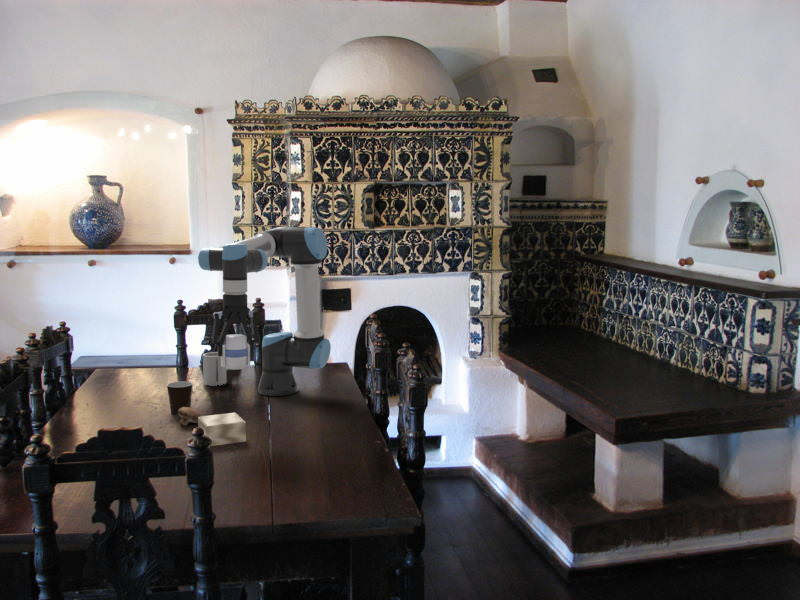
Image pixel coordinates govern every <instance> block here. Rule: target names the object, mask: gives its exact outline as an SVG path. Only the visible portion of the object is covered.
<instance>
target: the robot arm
mask: <svg viewBox="0 0 800 600" xmlns="http://www.w3.org/2000/svg"><path fill="white" fill-rule="evenodd" d="M327 253H328V241H327V237H326V235H325V233H324V232H323V230H322V229H321V228H319V227H312V226H279V227H274V228H270V229H266V230H264V231H263V230H262V231H260V232H258V233H256V234H255V235H254V236H253V237H252V236H251V237H250V238H246V239H243V240H239V241H236V242H232V243H225V244H223V245H222V246H219V247H204V248H201V250H200V251H199V252H198V257H197V261H198V266H199V267H200V269H202V270H203V271H210V272H222V292H223V294H222V309H221V311H217V312H215V311H214V312H213V313H212V316H213V317H212V318H213V326H212V334H211V341H210V342H211V343H212V344H213V345H215V346H217V352H218V356H221V366H222V367H225V346H224V340H225V338H226V335H228V332H229V330H230V327H231V325H232V324H237V323H238V324H240V326H241V329H242V331H243V335H246V336H247V366H251V355H253V354H254V344H256V343H259V342H260V340H259V339H260V338H259V330H258V323H257V317H258V312H257V311H255V310H249V308H248V295H247V292H248V274H249V273H258V272H262V271H264V270H265V269H266V268H267V266H268V263H269V262H268V258H271V257H272V258H287V259H290V264H291V266H292V267H294V277H295V300H296V303H295V305H296V325H297V326H296V327H297V328H296V329H297V330H296V331H295V332H294V333H293V332H292V331H283V332H282V331H281V332H274V333H269V334H266V335H264V336H263V338H262V343H261V351H262V357H261V359H262V374H261V377H260V379H259V384H258V388H257V390H258V391H257V392H258V393H259V395H263V396H267V395H268V396H269V397H281V396H283V397H284V395H285V396H290V395H289V394H291V395H293V394H292V393H294V394H296V393H297V392H298V383H297V381H296V378H295V375H294V368H301V369H302V368H303V369H310V370H314V369H317V370H318V369H319V370H320V369H323V368H324V367H325V366H326V364H327V363H328V361H329V358H330V355H331V348H332V347H331V342H330V340H329V339H328V338H325V332H324V331H323V330H322V329H321V317H320V316H321V315H320V291H319V289H320V288H319V287H320V285H319V266H320V265H322V263H323V259H325V257H327ZM222 316H223V317H224V323H223V327H222V329H221V332H220V334H219V330H220V323H221V321H220V320H221V319H222ZM247 316H249V318H250V326H251V332H250V329H249V328H248V325H247V321H246V317H247ZM251 334H252V335H251ZM295 392H296V393H295ZM268 396H267V397H268Z"/></svg>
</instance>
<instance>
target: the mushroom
mask: <svg viewBox="0 0 800 600" xmlns="http://www.w3.org/2000/svg"><path fill="white" fill-rule="evenodd" d="M178 416H179V417H180V420H179V422H180V424H181V425H183V426H187V425H188V424H190V423H193V424H198V417H200V416H201V414H200V412H199V411H198V410H197V409H195V408H192V407H191V406H190V407H182V408H180V409H179V410H178Z"/></svg>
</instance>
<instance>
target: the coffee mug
mask: <svg viewBox="0 0 800 600" xmlns="http://www.w3.org/2000/svg"><path fill="white" fill-rule="evenodd" d="M193 384H194V383H193V382H191V381H174V382H168V383H167V385H166V388H167V394H168V401H169V407H170V413H171V414H172V415H178V410H179V409H180V408H182V407H190V408H191V404H192V393H193ZM178 416H179V415H178Z"/></svg>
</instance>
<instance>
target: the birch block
mask: <svg viewBox="0 0 800 600" xmlns="http://www.w3.org/2000/svg"><path fill="white" fill-rule="evenodd" d="M198 427H200V428H202V429H203V430H204V435H205V436H207V437H209V438H210V439H211V440H212V444H211V446H210V447H215V446H222V445H229V444H237V443H244V442H247V424H246V421H245V420H244V419H243V418H242V417H241V416H240V415H239V414H238V413H237V412H229V413H220V414H211V415H202V416H200V417H198V423H197V428H198Z"/></svg>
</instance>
